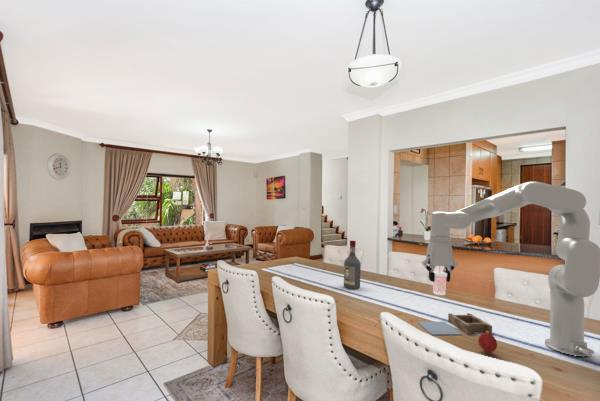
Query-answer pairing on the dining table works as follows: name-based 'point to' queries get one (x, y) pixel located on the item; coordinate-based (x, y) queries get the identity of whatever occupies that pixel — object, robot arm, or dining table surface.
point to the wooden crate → (469, 323)
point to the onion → (487, 342)
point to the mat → (439, 328)
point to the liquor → (352, 269)
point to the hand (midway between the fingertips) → (439, 280)
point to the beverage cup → (439, 282)
